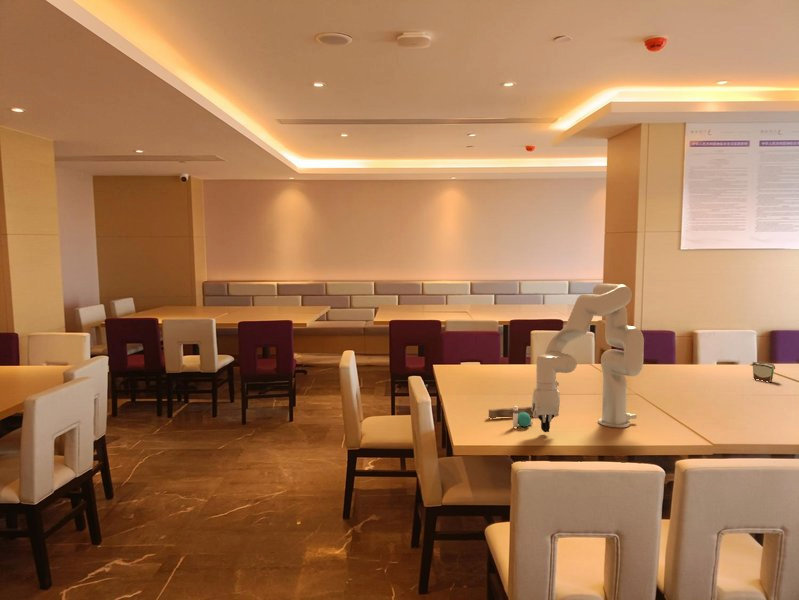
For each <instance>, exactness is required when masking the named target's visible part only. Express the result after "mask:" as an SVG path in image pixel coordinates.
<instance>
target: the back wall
mask: <svg viewBox="0 0 799 600" xmlns="http://www.w3.org/2000/svg"><path fill="white" fill-rule="evenodd" d="M521 412H525V413H528V414H529V415H530V416H533V412H532V406H523V407H522V406H521V407H520V406H518V414H519V413H521ZM489 417H490V418H496V417H513V407H507V408H505V407H504V408H492V409H491V408H490V409H488V418H489Z"/></svg>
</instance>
